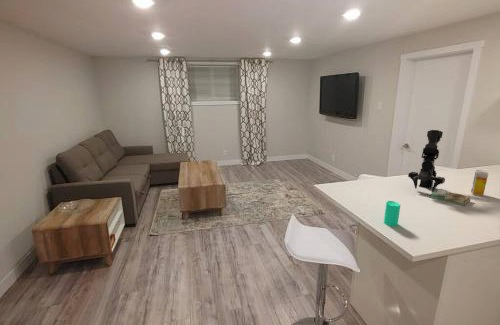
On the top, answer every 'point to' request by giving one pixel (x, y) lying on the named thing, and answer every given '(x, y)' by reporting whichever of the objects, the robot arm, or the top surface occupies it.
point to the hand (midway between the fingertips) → (423, 190)
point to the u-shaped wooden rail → (457, 197)
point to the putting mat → (443, 198)
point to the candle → (392, 213)
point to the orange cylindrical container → (479, 182)
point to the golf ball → (441, 192)
